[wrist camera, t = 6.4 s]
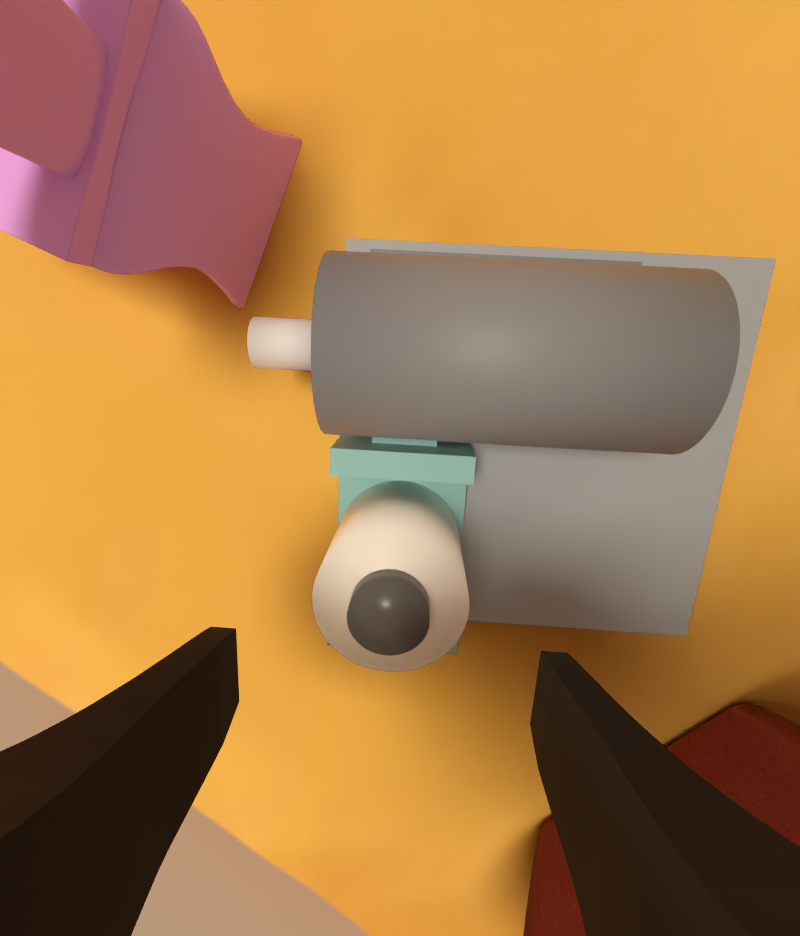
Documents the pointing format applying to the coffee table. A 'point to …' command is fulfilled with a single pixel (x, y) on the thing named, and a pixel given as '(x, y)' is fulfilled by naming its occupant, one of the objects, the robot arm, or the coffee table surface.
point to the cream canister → (393, 580)
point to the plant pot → (722, 765)
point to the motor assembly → (538, 411)
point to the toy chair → (132, 143)
